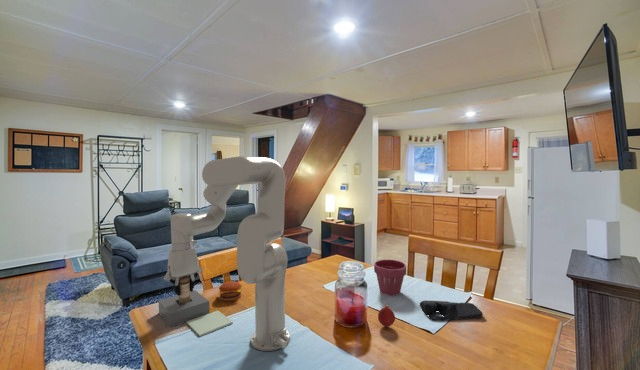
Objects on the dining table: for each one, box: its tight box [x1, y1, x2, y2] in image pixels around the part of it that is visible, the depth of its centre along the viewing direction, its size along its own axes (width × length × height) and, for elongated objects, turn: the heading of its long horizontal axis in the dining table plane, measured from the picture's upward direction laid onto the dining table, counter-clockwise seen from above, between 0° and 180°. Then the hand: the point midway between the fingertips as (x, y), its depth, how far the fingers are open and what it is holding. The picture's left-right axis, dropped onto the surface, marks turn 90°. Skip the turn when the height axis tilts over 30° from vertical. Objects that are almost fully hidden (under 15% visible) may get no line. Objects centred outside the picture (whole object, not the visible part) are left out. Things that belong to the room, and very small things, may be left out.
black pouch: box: [419, 300, 484, 321], centre depth 116 cm, size 15×22×5 cm
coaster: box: [185, 310, 234, 337], centre depth 107 cm, size 12×12×1 cm
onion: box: [377, 304, 396, 328], centre depth 104 cm, size 6×6×8 cm
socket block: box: [158, 289, 210, 328], centre depth 114 cm, size 14×14×5 cm
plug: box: [179, 275, 191, 305], centre depth 114 cm, size 4×4×12 cm
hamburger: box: [218, 280, 243, 303], centre depth 129 cm, size 9×10×7 cm
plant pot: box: [373, 259, 407, 296], centre depth 134 cm, size 14×14×13 cm
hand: (184, 292), depth 114 cm, fingers closed on plug, 4 cm apart
